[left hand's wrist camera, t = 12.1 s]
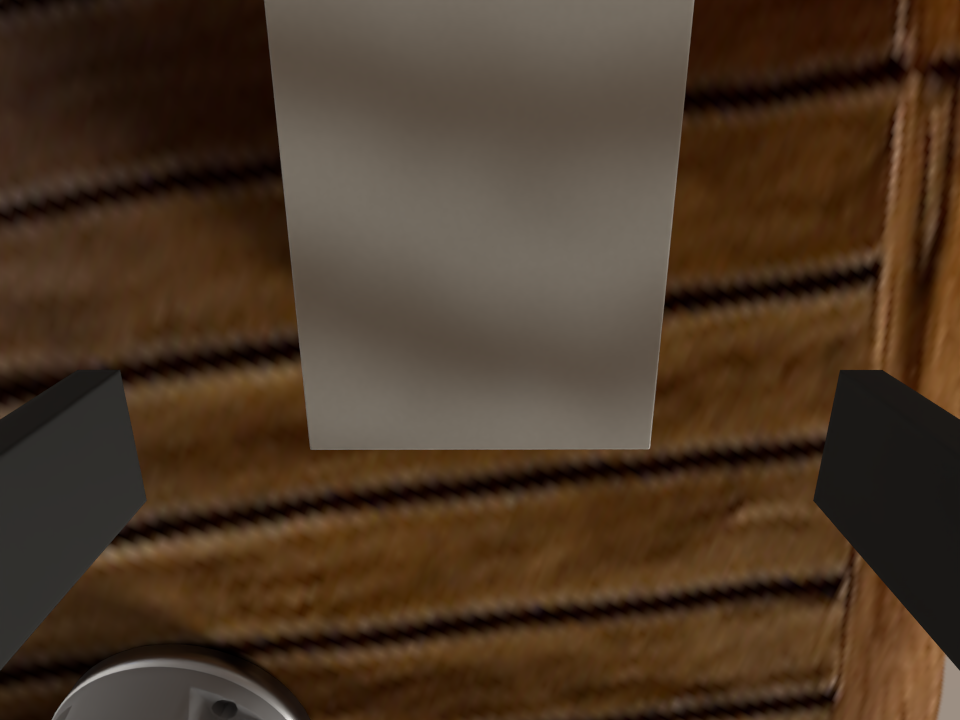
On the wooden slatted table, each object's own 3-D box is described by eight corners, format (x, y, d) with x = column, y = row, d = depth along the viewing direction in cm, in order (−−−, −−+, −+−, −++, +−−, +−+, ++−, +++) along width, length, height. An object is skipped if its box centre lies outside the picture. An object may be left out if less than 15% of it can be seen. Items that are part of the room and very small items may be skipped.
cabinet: (331, -214, 24) (214, -473, 13) (626, -214, 24) (742, -474, 13) (367, 336, 31) (309, 450, 21) (593, 336, 31) (650, 449, 21)
